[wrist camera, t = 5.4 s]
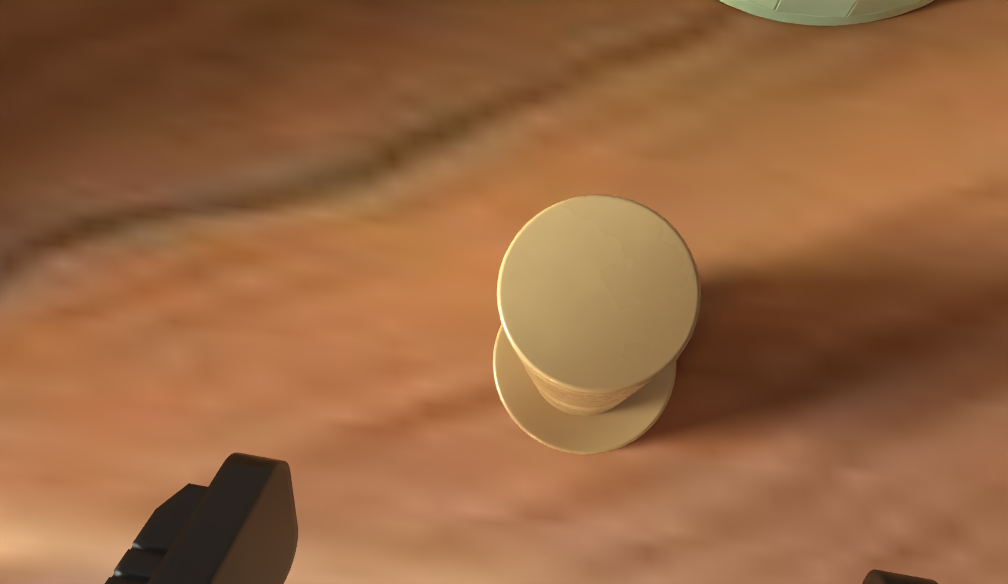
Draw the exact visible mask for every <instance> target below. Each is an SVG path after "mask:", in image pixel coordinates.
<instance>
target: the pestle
mask: <svg viewBox="0 0 1008 584" xmlns="http://www.w3.org/2000/svg"><path fill="white" fill-rule="evenodd" d="M497 302H498V310H499V315H500V319H501V322H502V324H501V326H500V328H499V331H498V334H497V337H496V341H495V346H494V351H493V373H494V379H495V384H496V388H497V391H498V394H499V396H500V399H501V401H502V403H503V405H504V407H505V409H506V410H507V412H508V413H509V415H510V416H511V418H512V419H513V420H514V421H515V422H516V424H517V425H518V426H519V427H520V428H521V429H522V430H523V431H525V432H526V433H527V434H528V435H529V436H531V437H532V438H534V439H535V440H537V441H538V442H540V443H542V444H544V445H546V446H548V447H550V448H553V449H556V450H559V451H562V452H567V453H572V454H583V455H589V454H600V453H605V452H609V451H613V450H615V449H618V448H621V447H623V446H625V445H627V444H629V443H631V442H633V441H634V440H636V439H637V438H639V437H640V436H642V435H643V434H644V433H645V432H646V431H647V430H648V429H649V428H651V427H652V426H653V424H654V423H655V422H656V421H657V419H658V418H659V417H660V415H661V414H662V412H663V411H664V409H665V407H666V405H667V403H668V401H669V399H670V396H671V394H672V390H673V387H674V383H675V376H676V359H677V358H678V357H679V355H680V354H681V353H682V352H683V350H684V349H685V347H686V345H687V344H688V342H689V341H690V338H691V336H692V334H693V332H694V329H695V327H696V323H697V320H698V316H699V310H700V303H701V287H700V279H699V274H698V270H697V266H696V263H695V260H694V258H693V256H692V253H691V251H690V249H689V247H688V246H687V244H686V242H685V241H684V239H683V238H682V237H681V235H680V234H679V233H678V231H677V230H676V229H675V228H674V227H673V226H672V225H671V224H670V223H669V222H668V221H667V220H666V219H665V218H663V217H662V216H661V215H659V214H658V213H657V212H655V211H653V210H652V209H650V208H648V207H647V206H645V205H642V204H640V203H638V202H635V201H633V200H630V199H626V198H623V197H618V196H611V195H585V196H579V197H574V198H570V199H567V200H564V201H561V202H558V203H556V204H554V205H552V206H550V207H548V208H546V209H545V210H543V211H542V212H540V213H539V214H537V215H536V216H534V217H533V218H532V219H531V220H530V221H529V222H528V223H527V224H525V226H524V227H523V228H522V229H521V230H520V231H519V233H518V234H517V235H516V236H515V238H514V239H513V241H512V242H511V244H510V246H509V248H508V250H507V252H506V254H505V256H504V259H503V262H502V265H501V268H500V272H499V277H498V285H497Z"/></svg>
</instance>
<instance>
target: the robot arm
mask: <svg viewBox="0 0 1008 584" xmlns="http://www.w3.org/2000/svg"><path fill="white" fill-rule="evenodd" d="M297 540H298V525H297V517H296V510H295V503H294V496H293V489H292V481H291V474H290V468H289V465H288V463H287V462H285V461H281V460H276V459H270V458H265V457H259V456H254V455H248V454H243V453H233V454H231V455H230V456H229V457H228V458H227V459H226V460H225V462H224V463H223V465H222V466H221V468H220V469H219V471H218V473H217V474H216V476H215V477H214V479H213V480H212V482H211V484H210V485H209V487H205V486H200V485H195V484H188V485H186V486H185V487H184V488H183V489H181V490H180V491H179V492H177V493H176V494H175V495H174V496H172V497H171V498H170V499H168V500H167V501H166V502H165V503H163V504H162V505H161V506H159V507H158V508H157V509H156V510H155V511H154V513H153V514H152V515H151V517H150V518H149V520H148V521H147V523H146V524H145V526H144V527H143V529H142V530H141V532H140V533H139V534H138V536H137V537H136V539H135V540H134V542H133V546H132V548H131V550H129V549H128V551H127V552H126V553H125V555H124V556H123V558H122V559H121V561H120V562H119V564H118V565H117V567H116V568H115V570H114V575H113V576H112V577H109V578H108V580H107V581H106V583H105V584H284V582H285V579H286V577H287V575H288V573H289V571H290V568H291V565H292V562H293V559H294V555H295V552H296V547H297ZM862 584H938V583H937V582H936V581H934V580H930V579H925V578H919V577H914V576H908V575H903V574H897V573H892V572H886V571H880V570H872V571H870V572H869V573H868V574H867V576H866V578H865V579H864V581H863V583H862Z"/></svg>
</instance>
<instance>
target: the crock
mask: <svg viewBox="0 0 1008 584" xmlns="http://www.w3.org/2000/svg"><path fill="white" fill-rule="evenodd" d="M719 1H721V2H722V3H724V4H726V5H728V6H731V7H734V8H736V9H739V10H742V11H744V12H747V13H749V14H752V15H755V16H759V17H763V18H767V19H771V20H775V21H779V22H786V23H794V24H801V25H809V26H841V25H851V24H860V23H868V22H873V21H877V20H881V19H886V18H890V17H894V16H898V15H900V14H903V13H906V12H909V11H911V10H914V9H917V8H920V7H922V6H924V5H926V4H928V3H930V2H932V1H934V0H719Z"/></svg>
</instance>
